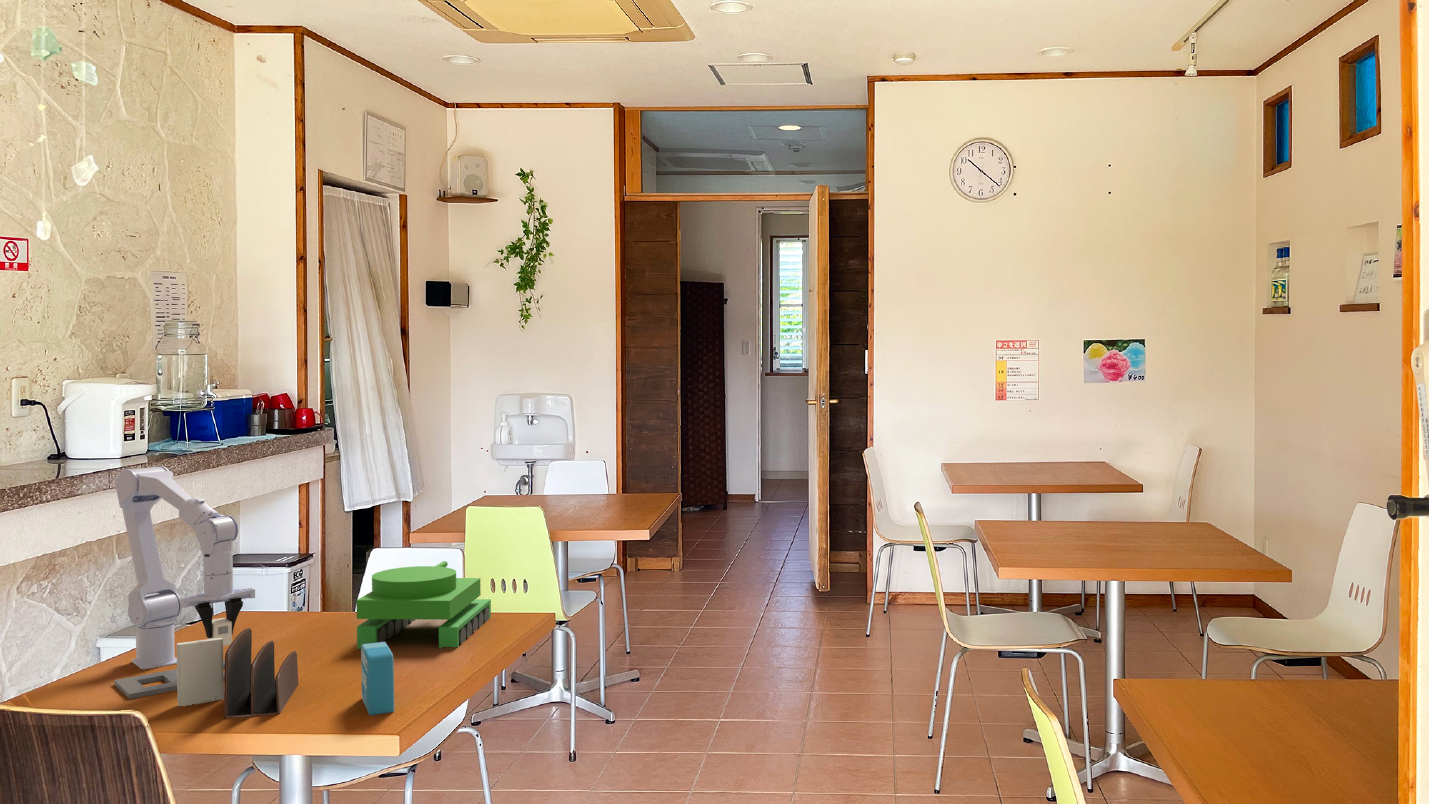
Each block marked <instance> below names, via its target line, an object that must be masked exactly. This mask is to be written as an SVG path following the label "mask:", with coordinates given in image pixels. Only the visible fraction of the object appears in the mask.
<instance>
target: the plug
mask: <svg viewBox="0 0 1429 804" xmlns="http://www.w3.org/2000/svg"><path fill="white" fill-rule="evenodd" d="M212 629H213V636H212V638H208V637H207V639H214V638H223V647H229V646H230V645H231V643H232V642H233V635H232V622H231V621H229V620H227V619H226V617H221V618H214V619H213V618H212Z"/></svg>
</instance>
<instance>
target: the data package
mask: <svg viewBox="0 0 1429 804" xmlns="http://www.w3.org/2000/svg"><path fill="white" fill-rule="evenodd" d="M389 647H390V646H389V645H388V644H387V642H386V641H385V642H379V643H370V644H362V646H361V649H360V656H361V657H360V661H361V663H360V665H361V667H360V668H361V670H360V671H361V700H362V702H363V704H364V706H365V708H366V710H367V712H368V715H369V716H377V715H382V714H388V713H389V714H390V713H394V712H395V665H394V664H395V663H394V661H395V660H394V654H393V652H392V651H391V649H390V648H389Z"/></svg>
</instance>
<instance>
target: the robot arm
mask: <svg viewBox="0 0 1429 804" xmlns="http://www.w3.org/2000/svg"><path fill="white" fill-rule="evenodd" d="M114 485H115V490H116V495H117V500H118V504H119V508H121V510H122V515H123V519H124V524H125V528H126V534H127V538H128V539H127V540H128V544H129V548H130V553H131V558H132V563H133V568H134V573H135V576H136V581H137V585H136V586H134V588H133V589H132V590H131V591H130V592H129V593H128V595H127V598H128V607H127V615H128V618H129V621H130V622H131V623H132V624H133V625H134V627H135V628H137V630H136V633H135V651H136V652H135V654H136V657H135V658H132V659H131V662H132V663H133V664H134V665H135V666H136V667H138V668H139V669H140V670H148V669H149V670H150V669H154V668H155V669H156V668H160V667H167V666H172V665H177V657H176V655H175V652H176V651H175V648H176V647H175V623H176V622H177V621H178V617H180V615H181V614H182V612H183V609H186V608H189V607H194V608H195V610H196V612H197V614H198V615H199V618H200V619H201V622H202V624H203V625H202V626H203V628H204V631H205V636H206V638H207V639H208V638H212V636H213V629H212V620H213V615H214V613H213V612H214V608H213V607H212V604H216V603H217V604H218V603H224V607H225V608H224V609H225V616H226V617H225V618H226V619H227V620H229V621H231V622H232V636H233V635H234V629H235V624H236V621H237V619H238V616H239V614H240V613H241V610H242V608H243V606H244V601H243V600H245V599H256V589H255V588H253V587H250V588H240V589H237V588H236V589H234V573H233V572H234V571H233V569H234V567H233V566H234V565H233V563H234V561H233V542H234V541H235V540H236V539H237V538H238V535H239V526H238V522H237V520H236V519H234V517H233V516H232V515H230V514H227V515H226V514H225V515H224V514H220V513H219V512H218V511H217V510H215V509H214V508H212V507H211V506H210V505H209V504H207V503H206V500H205V499H204V498H202V497H191V496H190V495H189V494H188V492H186V491H185V490H184V489H183V488H182V487H181V486H180V485H179V484H178V483H177V482H176V481H175V478H174V473H173V472H172V471H171V470H170V469H168V468H167V467H166V466H164V465H159V466H152V467H143V468H134V469H133V468H132V469H129V468H125V469H123V470H121V471H120V473H119V474H118V476H117V479H116V481H115V483H114ZM161 500H164V501H165V502H167V504H170V505H171V506H172V507H173V508H175V509H177V510H178V517H179V519H180V520H181V521H183V522H184V523H185V524H186V525H187V526H189V528H191V529H192V530H193V531H195V535H196V536H195V537H196V539H197V541H198V543H199V548H200V549H199V550H200V552H201V554H202V557H203V559H202V561H203V563H202V565H203V593H198V594H194V595H189V596H183V597H181V596H180V594H179V593H178V590H177V587H176V586H177V585H176V584H175V583H173V582H172V581H170V580H168V579H166V578H165V577H164V571H163V568H162V567H163V566H162V563H161V558H160V557H161V556H160V553H159V549H158V543H157V539H156V535H155V534H156V533H155V529H154V525H153V519H152V514H151V510H152V508H153V507H154V505H157V504H158V503H159V502H160V501H161ZM151 594H152V595H151ZM147 595H148V596H147ZM210 604H211V605H210Z"/></svg>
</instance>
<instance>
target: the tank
mask: <svg viewBox="0 0 1429 804" xmlns="http://www.w3.org/2000/svg"><path fill="white" fill-rule="evenodd" d="M448 564H449V563H448V561H446V560H442V561H441V562H440V563H438V564H436V565H434V566H433V565H432V566H431V565H428V566H427V565H423V566H421V565H420V566H419V565H417V566H405V567H404V566H403V567H396V568H389V569H384V570H381V571H377V572H375V573H373V574H372V575H371V591H370V592H368V593H366V594H365V595H363V596H361V597H360V598H357V599H356V603H355V604H356V620H364V621H363V622H362V623H360V624H359V625H357V626H356V649H357V650H361V646H362V644H370V643H379V642H386V640H390V639H392V638H391V637H392V636H394V634H393V633H397V632H398V631H400V632H401V629H405V628H406V627H405V626H407V627H408V625H409V624H412V623H413V622H412V621H414V622H415V621H416V620H429V621H430V620H434V621H435V620H438V621H440V620H443V621H444V622H443V623H442V624H441V625H440V626H438V649H442V648H441V647H458V646H459V647H460V645H459V644H462V643H463V642H464V641H465V642H466V638H468V637H469V636H470V637H472V635H471V634H474V631H476V630H477V629H479V628H478V627H480V626H481V627H482V626H483V625H484V623H483V622H485V623H486V621H487V622H488V621H489V620H490V619H491V618H492V608H491V607H492V604H491V603H492V600H491V599H490V598H479V597H480V596H481V595H482V594H481V591H482V590H481V578H480V577H457V570H455V569H454V568H451V567H448ZM490 617H491V618H490ZM415 619H416V620H415ZM488 619H489V620H488ZM445 620H446V621H445ZM411 622H412V623H411ZM482 624H483V625H482ZM404 627H405V628H404ZM481 627H480V628H481ZM477 631H478V630H477ZM477 631H476V632H477ZM398 633H399V632H398ZM398 633H397V634H398ZM470 637H469V638H470ZM469 638H468V639H469ZM465 642H464V643H465ZM464 643H463V644H464ZM463 644H462V645H463ZM459 647H458V648H459Z"/></svg>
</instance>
